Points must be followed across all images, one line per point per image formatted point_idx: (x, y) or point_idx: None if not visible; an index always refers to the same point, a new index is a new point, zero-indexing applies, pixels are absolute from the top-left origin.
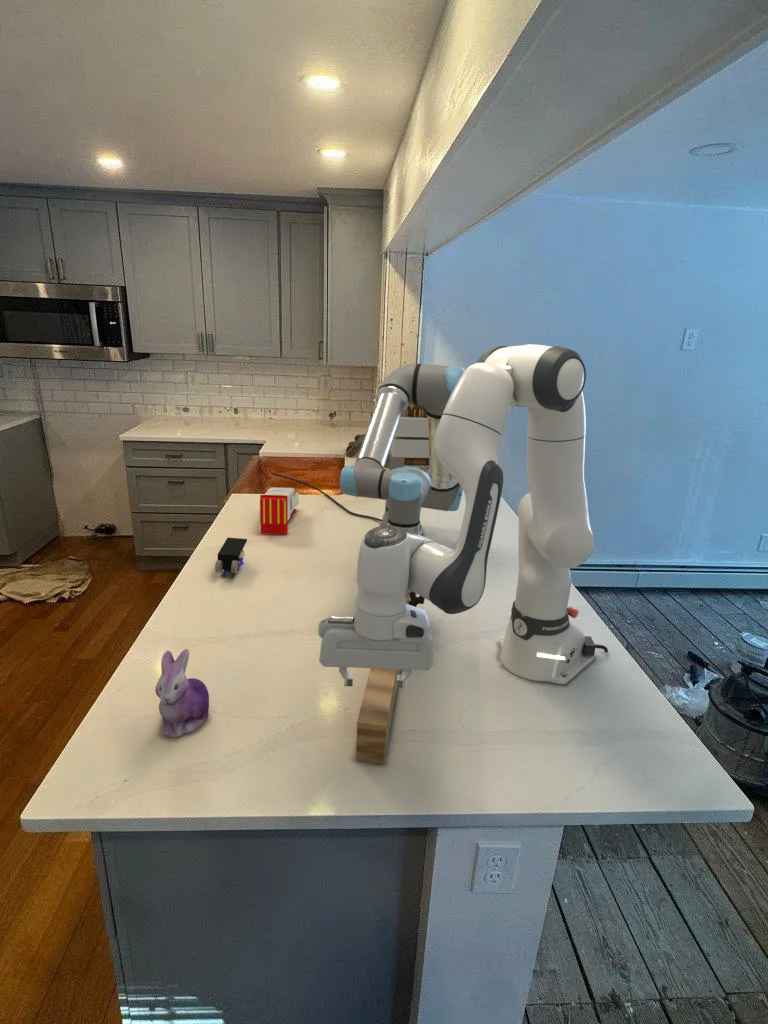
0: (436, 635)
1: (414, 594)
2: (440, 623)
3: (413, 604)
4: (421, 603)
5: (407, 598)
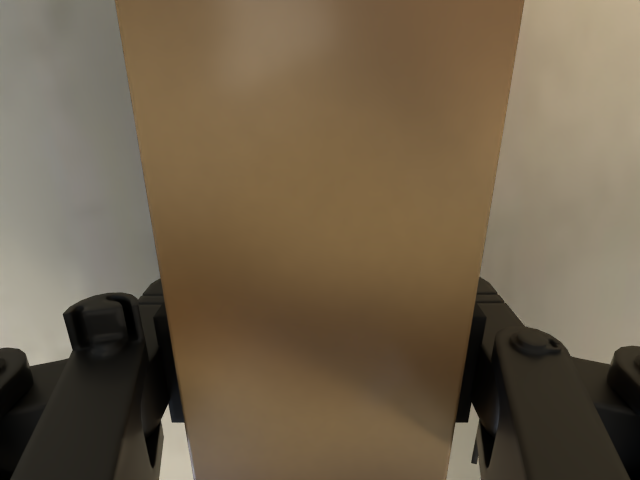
0: (39, 193)
1: (16, 468)
2: (58, 333)
3: (111, 325)
4: (1, 354)
5: (206, 422)
